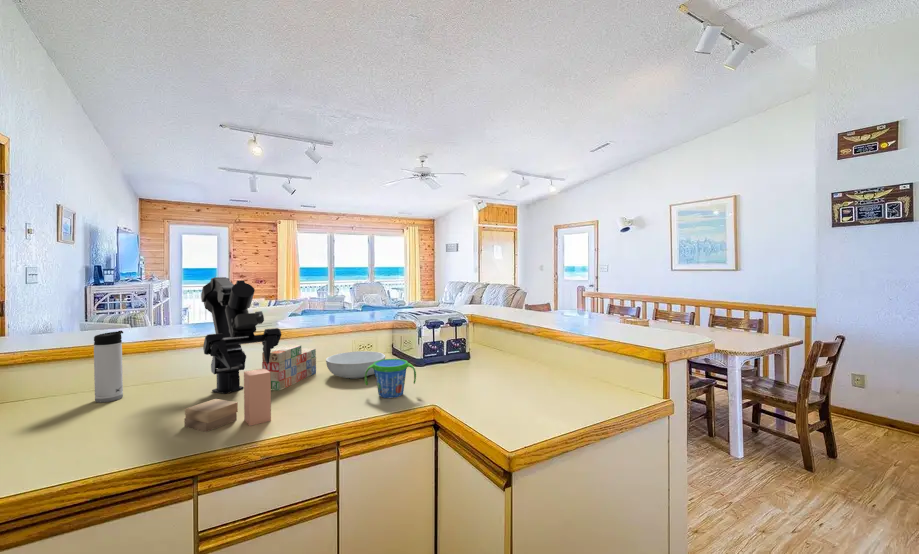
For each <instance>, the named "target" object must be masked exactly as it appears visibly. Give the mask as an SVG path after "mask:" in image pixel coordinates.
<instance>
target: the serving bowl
mask: <svg viewBox="0 0 919 554" xmlns="http://www.w3.org/2000/svg"><path fill="white" fill-rule="evenodd" d="M384 359H386V355H385V354H384V353H382V352H379V351H369V350H363V351H361V350H360V351H347V352H342V353H336V354H332V355H331V356H330V355H329V356H328V357H326V358H325V364H326V366H327V369H328V371H329V372H330V373H331V374H332V375H334V376H336V377H339V378H344V379H349V378H350V380H351V379H352V380H354V379H356V378H357V379H362V378H363V379H364V378H365V373H366V370H367V369H368V367H369V366H371V365H372V364H373V363H374V362H376V361H379V360H384ZM371 375H375V373H374V369H373V368H370V369H369V370H368V372H367V377H369V376H371ZM357 379H356V380H357Z"/></svg>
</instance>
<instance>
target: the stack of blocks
mask: <svg viewBox="0 0 919 554" xmlns="http://www.w3.org/2000/svg"><path fill="white" fill-rule="evenodd" d="M316 352H317V351H316V348H309V347H308V348H304V347H302V345H300V344H297V345H295V344H284V345H281V346H277V347H276V348H275V347H274V348H273V349H271V352H270V359H269V364H267V363H266V361H265V357H264V353H263V351H262V352H261V353H262V363H261V365H262V366H261V369H266V370H268V371H269V372H271V391H281V390H283V389H286V388H288V387H290V386H293V385H294V384H297V383H298V382H300V381H302V380H304V378H305V379H307V378H309V377H310V376H313V375H314V374H316V373H317V354H316Z"/></svg>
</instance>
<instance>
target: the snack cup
mask: <svg viewBox="0 0 919 554" xmlns="http://www.w3.org/2000/svg"><path fill="white" fill-rule="evenodd" d="M370 368H373V369H374V376H375V381H376V388H377V394H378V396H380V397H381V398H384V399H392V398H398V397H401V396H402V395H404V390H405V383H406V375H407V373H406V372H407V370H408V369H407V368H411V369H412V370H413V385H415V384H416V380H417V371H416V368H415V366H413V364H411V363H410V362H409V361H408V360H405V359H402V358H385V359H384V360H379V361H376V362H374V363H373V364H372V365H371V366H369V367H368V369H367V370H366V373H365V377H364V383H365V386H368V385H369V382H368V376H367V372H368V370H369V369H370Z"/></svg>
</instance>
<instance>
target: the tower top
mask: <svg viewBox="0 0 919 554" xmlns="http://www.w3.org/2000/svg"><path fill="white" fill-rule="evenodd" d="M184 409H185V410H184V412H185V413H184V415H185V416H184V417H185V419H190V420H195V421H200V422H205V423H210V422H213V421H215V420H218V419H221V418H223V417H226V416H228V415H231V414H234V413H236V412H237V413H239V412H238V410H239V408H238V402H237V401H232V400H225V399H218V398H214V399H211V400H207V401H204V402H200V403H198V404H195V405H192V406H189V407H186V408H184Z"/></svg>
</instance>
